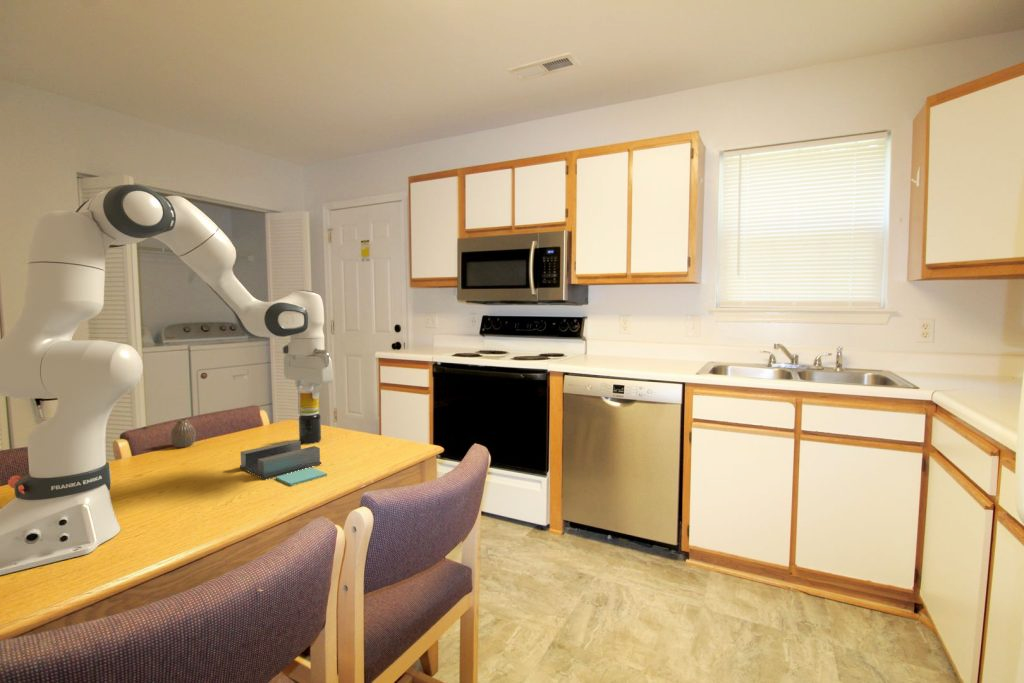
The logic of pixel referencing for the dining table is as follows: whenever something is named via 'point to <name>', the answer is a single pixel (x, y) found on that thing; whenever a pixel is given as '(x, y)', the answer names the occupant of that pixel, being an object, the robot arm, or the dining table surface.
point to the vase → (183, 434)
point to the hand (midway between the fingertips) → (308, 397)
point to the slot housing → (279, 459)
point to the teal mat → (300, 476)
